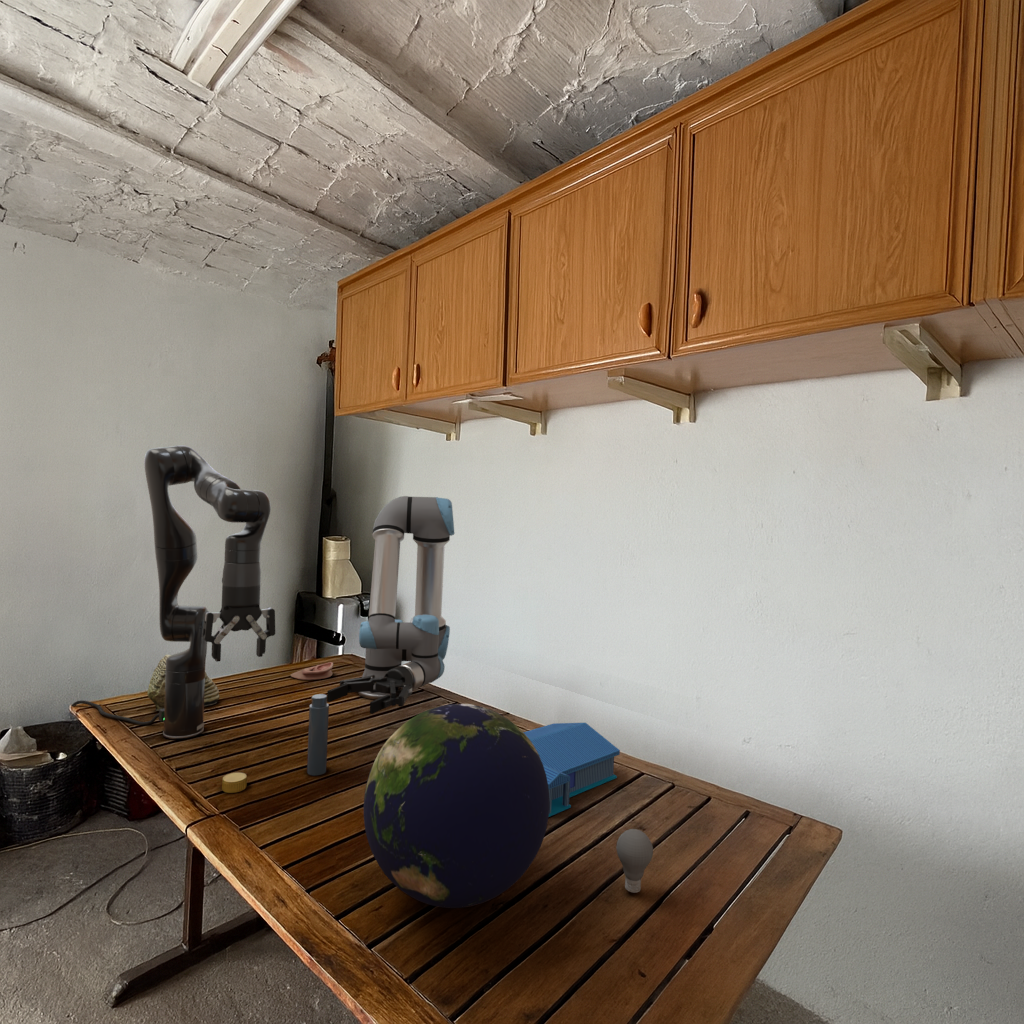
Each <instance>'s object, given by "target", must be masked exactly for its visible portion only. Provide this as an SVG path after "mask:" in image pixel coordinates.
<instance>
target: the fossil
mask: <svg viewBox="0 0 1024 1024" xmlns="http://www.w3.org/2000/svg"><path fill="white" fill-rule="evenodd" d="M171 655H172V654H165V655H164V656H163V657H162V658H161V659H160V660H159V662H158V663H157V666H156V667H155V669H154V670H153V672H152V675H151V677H150V680H149V684H148V688H147V697H148V699H149V700H150V701H152V703H153V704H154V706H155V711H159V709H163V708H164V705H165V674H166V660H167V658H168V657H170V656H171ZM220 698H221V696H220V690H219V688H218V686H217V685H216V683H215V682H214V681H213V679H212V678H211V677H209V675H208V674H207V672H206V671H205V693H204V707H207V706H213V705H215V704H217V703H218V701H219V699H220Z"/></svg>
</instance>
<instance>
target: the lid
mask: <svg viewBox="0 0 1024 1024" xmlns="http://www.w3.org/2000/svg"><path fill="white" fill-rule="evenodd" d="M247 783H248V777H247V774H246V773H244V772H231V773H227V774H226V775H224V776H223V777H222V781H221V791H223V792H224V793H226V794H227V793H228V794H233V793H239V792H242V791H244V790H245V789H246V788H247V786H248V784H247Z"/></svg>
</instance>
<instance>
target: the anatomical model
mask: <svg viewBox="0 0 1024 1024" xmlns="http://www.w3.org/2000/svg"><path fill="white" fill-rule="evenodd" d="M333 667H334V662H331V661H329V662H326V663H321V664H317V665H313V666H311V667H305V668H302V669H300V670H297V671H295V672H292V673H291V674H290V677H291V678H294V679H298V680H304V681H307V680H310V681H311V680H321V679H323V680H324V679H327V678H330V677H331V676H333V674H334V673H333V671H332V669H333Z"/></svg>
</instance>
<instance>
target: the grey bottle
mask: <svg viewBox="0 0 1024 1024" xmlns="http://www.w3.org/2000/svg"><path fill="white" fill-rule="evenodd" d="M308 707H309V709H308V710H309V711H308V735H307V760H306V761H307V762H306V763H307V764H306V774H307V775H309V776H315V777H316V776H321V775H325V774H326V773H327V768H328V767H327V766H328V744H329V743H328V742H329V740H328V739H329V717H330V716H329V715H330V704H329V702H327V694H323V693H318V694H313V695H312V696H311V704H309V706H308Z"/></svg>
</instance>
